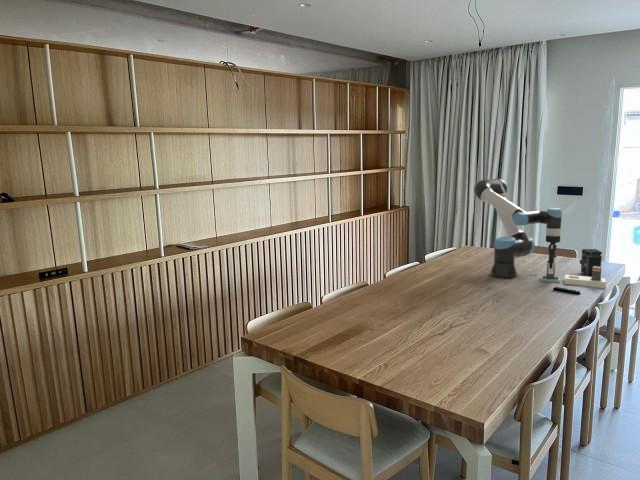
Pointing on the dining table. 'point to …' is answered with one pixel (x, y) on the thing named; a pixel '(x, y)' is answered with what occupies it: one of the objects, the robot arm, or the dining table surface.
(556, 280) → the tray
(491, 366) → the dining table surface
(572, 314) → the dining table surface
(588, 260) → the camera
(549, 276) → the plug
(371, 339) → the dining table surface
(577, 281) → the battery charger
